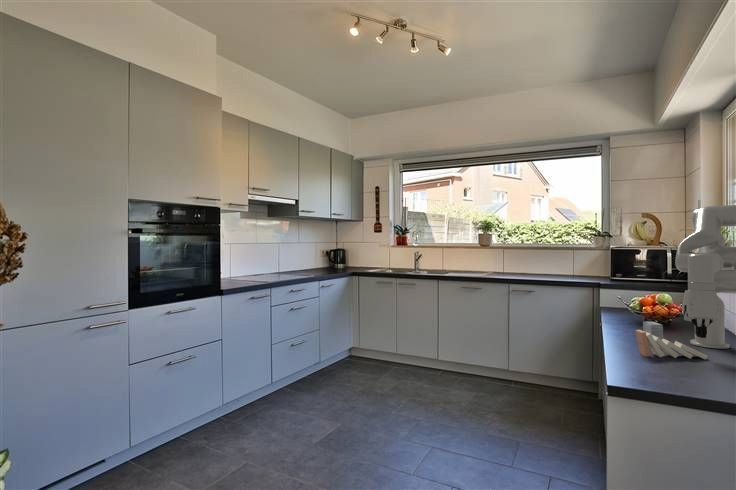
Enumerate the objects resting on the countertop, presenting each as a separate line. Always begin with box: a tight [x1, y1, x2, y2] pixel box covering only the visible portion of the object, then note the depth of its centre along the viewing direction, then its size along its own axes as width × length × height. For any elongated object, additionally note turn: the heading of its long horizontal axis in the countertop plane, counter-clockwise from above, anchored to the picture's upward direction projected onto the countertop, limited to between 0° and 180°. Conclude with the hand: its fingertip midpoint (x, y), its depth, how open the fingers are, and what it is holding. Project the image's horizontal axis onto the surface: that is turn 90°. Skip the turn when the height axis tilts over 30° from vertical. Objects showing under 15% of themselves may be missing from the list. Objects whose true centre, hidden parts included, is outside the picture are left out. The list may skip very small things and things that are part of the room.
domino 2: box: [644, 331, 666, 358], centre depth 154 cm, size 2×5×9 cm
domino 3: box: [652, 335, 680, 359], centre depth 153 cm, size 2×5×9 cm
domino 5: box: [673, 340, 709, 360], centre depth 151 cm, size 2×5×9 cm
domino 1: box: [635, 329, 651, 358], centre depth 155 cm, size 2×5×9 cm, turn 169°
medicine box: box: [642, 321, 664, 340], centre depth 173 cm, size 8×4×9 cm, turn 168°
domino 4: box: [662, 338, 694, 359], centre depth 152 cm, size 2×5×9 cm
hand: (701, 337), depth 151 cm, fingers closed
